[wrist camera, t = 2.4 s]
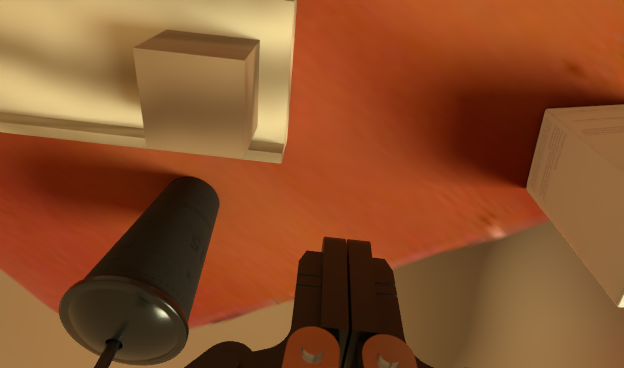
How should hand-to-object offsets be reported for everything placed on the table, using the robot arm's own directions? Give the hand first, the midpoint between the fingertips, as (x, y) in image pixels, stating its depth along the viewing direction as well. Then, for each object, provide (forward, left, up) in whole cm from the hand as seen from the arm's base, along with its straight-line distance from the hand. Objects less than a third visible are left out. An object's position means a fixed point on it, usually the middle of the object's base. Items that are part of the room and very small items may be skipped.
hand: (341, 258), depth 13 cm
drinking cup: (+12, -11, -19) cm, 25 cm away
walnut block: (0, -8, -16) cm, 18 cm away
